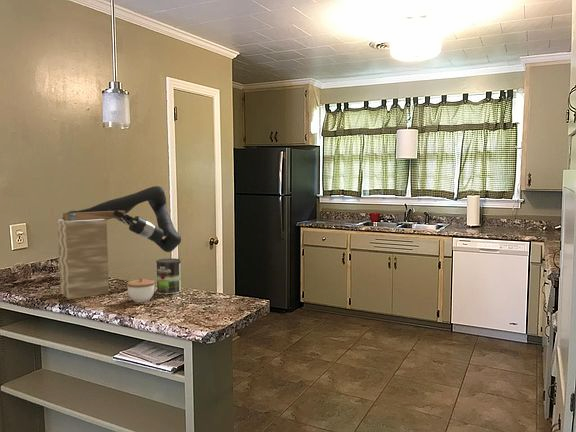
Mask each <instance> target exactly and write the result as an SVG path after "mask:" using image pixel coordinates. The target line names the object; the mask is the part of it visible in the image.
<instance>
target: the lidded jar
mask: <svg viewBox="0 0 576 432" xmlns="http://www.w3.org/2000/svg"><path fill="white" fill-rule="evenodd" d="M155 283H156V281H155V280H154V279H146V278H143V277H139V279H134V280H133V279H132V280H129V281H128V282H127V283H126V285H127V293H128V297H129V298H130V299H131V300H132V301H133V302H134V303H139V304H141V303H146V302H149V301H150V299H151V298H152V297H153V295H154V293H155V287H156V286H155Z"/></svg>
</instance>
